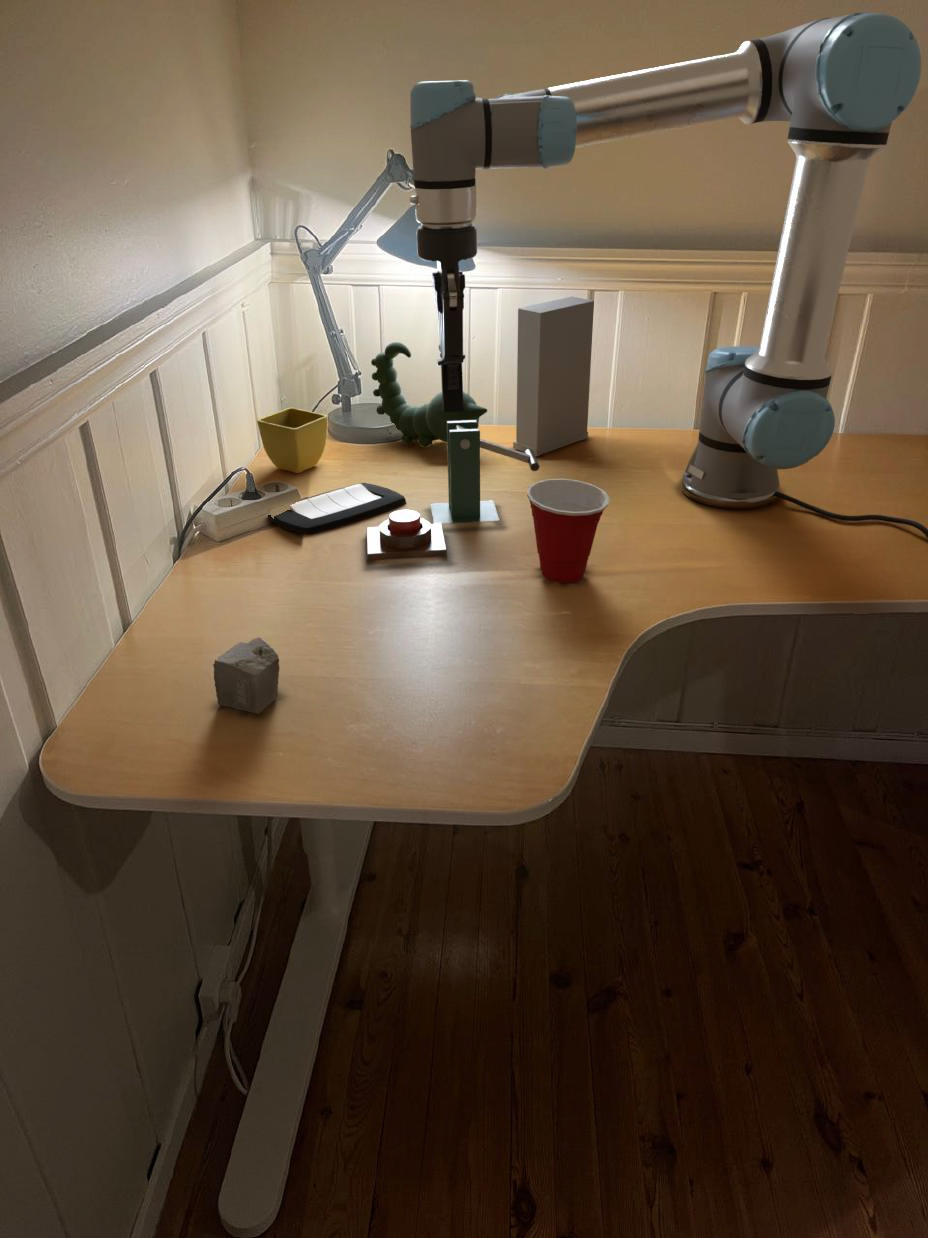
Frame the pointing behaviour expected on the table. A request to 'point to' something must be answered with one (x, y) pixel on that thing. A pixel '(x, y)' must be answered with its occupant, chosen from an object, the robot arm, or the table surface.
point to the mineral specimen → (247, 676)
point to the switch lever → (509, 452)
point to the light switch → (338, 508)
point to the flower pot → (294, 438)
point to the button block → (405, 542)
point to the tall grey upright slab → (553, 374)
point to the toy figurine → (414, 419)
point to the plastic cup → (565, 525)
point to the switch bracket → (463, 479)
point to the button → (404, 522)
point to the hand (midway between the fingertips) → (453, 410)
